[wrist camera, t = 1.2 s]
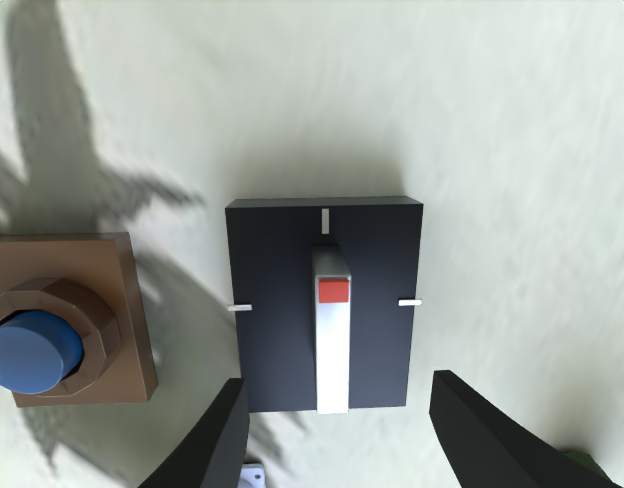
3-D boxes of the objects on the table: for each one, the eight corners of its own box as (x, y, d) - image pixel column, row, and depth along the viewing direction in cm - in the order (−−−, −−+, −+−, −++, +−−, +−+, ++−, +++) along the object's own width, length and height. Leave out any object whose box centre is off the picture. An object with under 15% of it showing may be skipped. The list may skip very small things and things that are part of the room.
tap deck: (397, 376, 24) (411, 408, 21) (246, 381, 24) (238, 415, 21) (411, 195, 20) (431, 203, 17) (229, 199, 20) (217, 208, 17)
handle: (338, 356, 20) (349, 417, 16) (313, 357, 20) (317, 418, 16) (339, 244, 18) (352, 277, 13) (311, 245, 18) (315, 278, 13)
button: (90, 372, 20) (70, 392, 18) (18, 374, 20) (-8, 395, 18) (73, 309, 18) (51, 325, 17) (-4, 311, 18) (-34, 328, 17)
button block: (158, 385, 24) (135, 423, 21) (36, 390, 24) (-8, 430, 20) (129, 232, 20) (95, 248, 17) (-15, 235, 20) (-78, 253, 17)
